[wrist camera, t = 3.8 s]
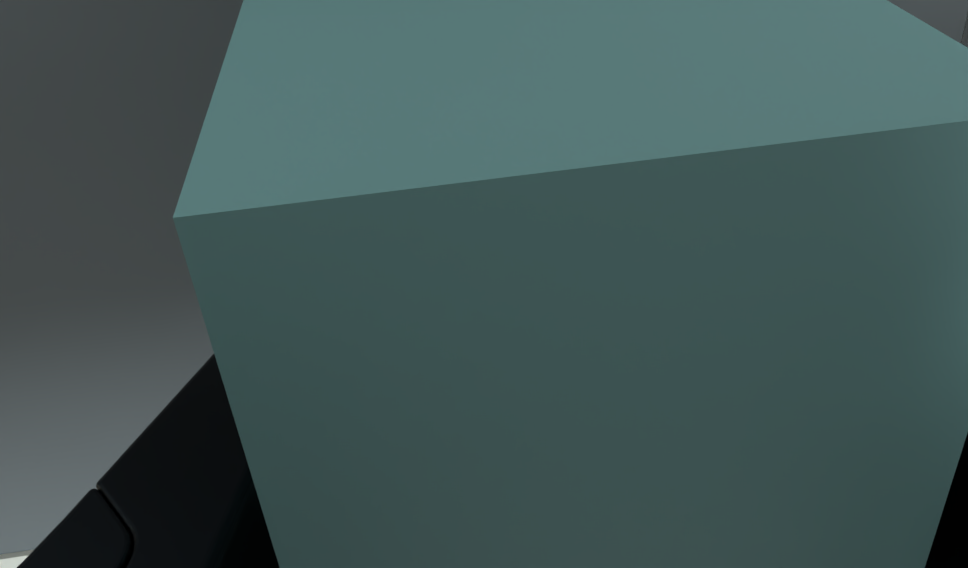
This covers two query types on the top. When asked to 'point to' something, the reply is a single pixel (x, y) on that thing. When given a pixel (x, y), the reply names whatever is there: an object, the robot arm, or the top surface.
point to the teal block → (588, 279)
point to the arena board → (109, 233)
